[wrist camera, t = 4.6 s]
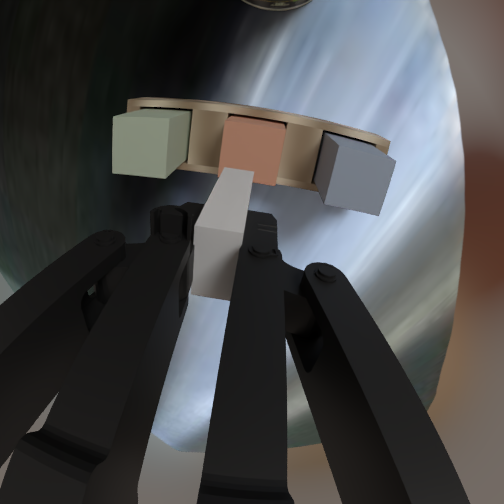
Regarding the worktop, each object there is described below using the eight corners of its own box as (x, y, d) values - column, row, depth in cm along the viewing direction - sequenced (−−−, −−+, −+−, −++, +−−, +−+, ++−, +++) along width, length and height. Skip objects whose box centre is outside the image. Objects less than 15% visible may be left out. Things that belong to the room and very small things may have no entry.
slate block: (313, 178, 29) (324, 204, 23) (323, 131, 26) (339, 145, 21) (357, 188, 29) (378, 216, 23) (370, 144, 27) (396, 161, 21)
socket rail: (139, 155, 32) (125, 163, 28) (143, 97, 28) (127, 99, 25) (362, 190, 32) (372, 203, 29) (377, 134, 29) (390, 141, 25)
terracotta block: (228, 158, 31) (217, 177, 25) (234, 113, 28) (224, 120, 22) (274, 165, 31) (275, 186, 25) (282, 121, 28) (286, 129, 22)
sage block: (143, 153, 29) (112, 173, 23) (145, 108, 26) (113, 116, 20) (187, 158, 29) (165, 178, 23) (192, 111, 26) (169, 118, 20)
